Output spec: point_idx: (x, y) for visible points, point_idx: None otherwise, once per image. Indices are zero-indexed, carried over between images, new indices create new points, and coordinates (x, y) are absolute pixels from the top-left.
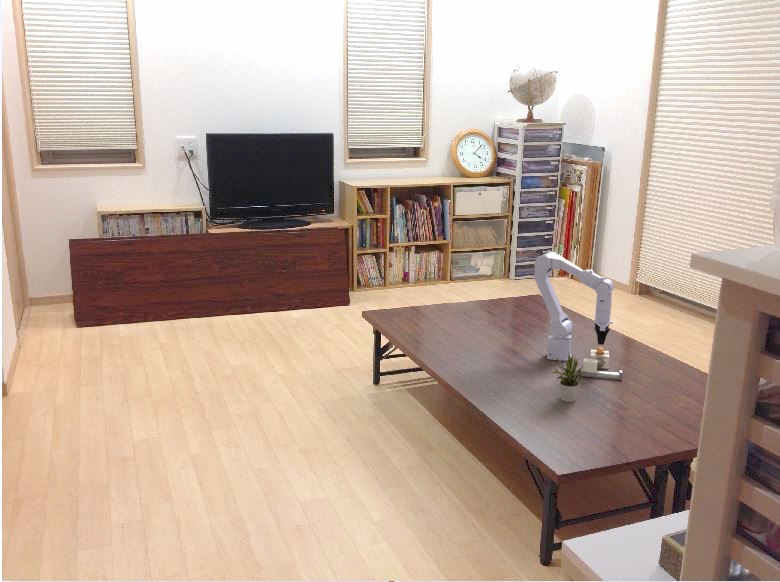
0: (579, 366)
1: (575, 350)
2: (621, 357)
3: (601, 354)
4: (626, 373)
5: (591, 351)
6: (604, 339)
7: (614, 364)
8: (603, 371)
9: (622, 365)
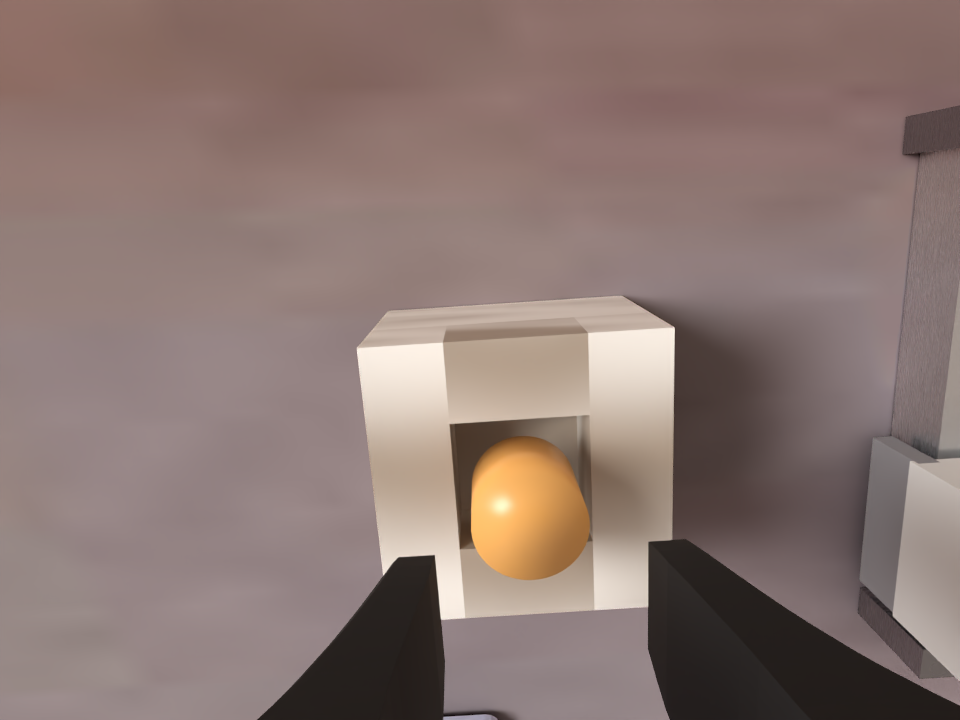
0: (922, 669)
1: (96, 691)
2: (99, 130)
3: (454, 443)
4: (739, 46)
5: (482, 608)
6: (785, 626)
7: (428, 222)
8: (952, 366)
9: (432, 110)
